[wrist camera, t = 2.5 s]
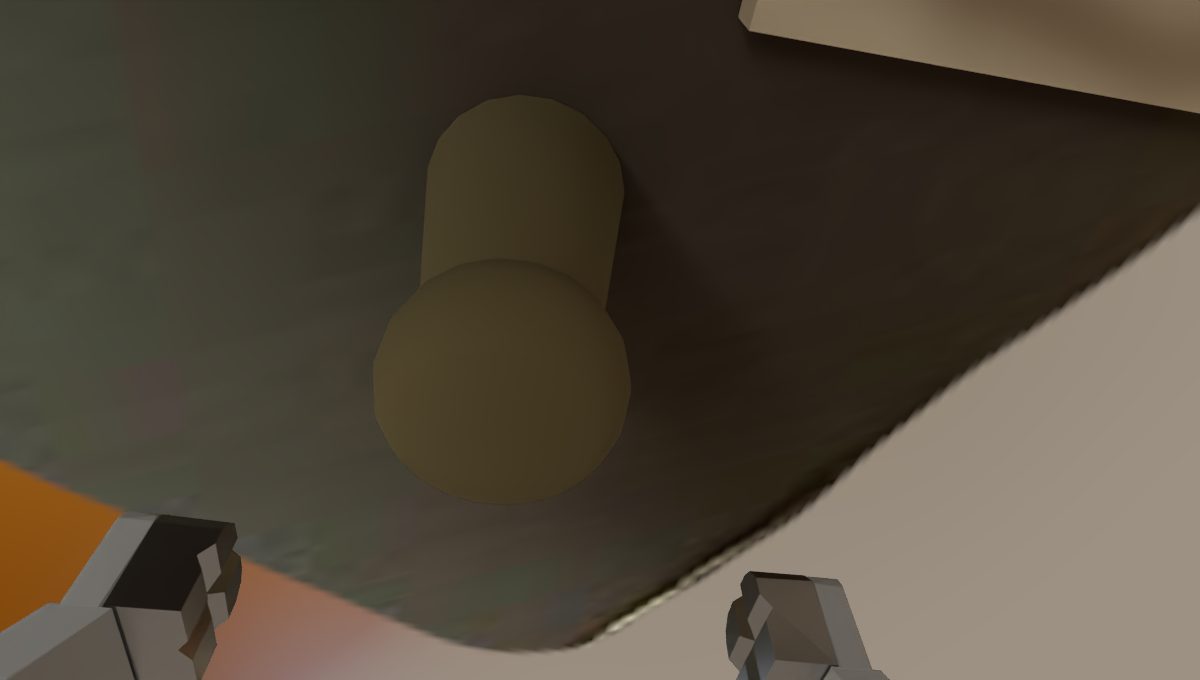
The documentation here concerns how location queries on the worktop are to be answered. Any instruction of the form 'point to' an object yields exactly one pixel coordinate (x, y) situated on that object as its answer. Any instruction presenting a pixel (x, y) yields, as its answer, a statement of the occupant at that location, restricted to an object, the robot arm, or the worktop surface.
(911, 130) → the worktop surface
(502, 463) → the cork
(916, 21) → the collar board
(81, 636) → the robot arm
